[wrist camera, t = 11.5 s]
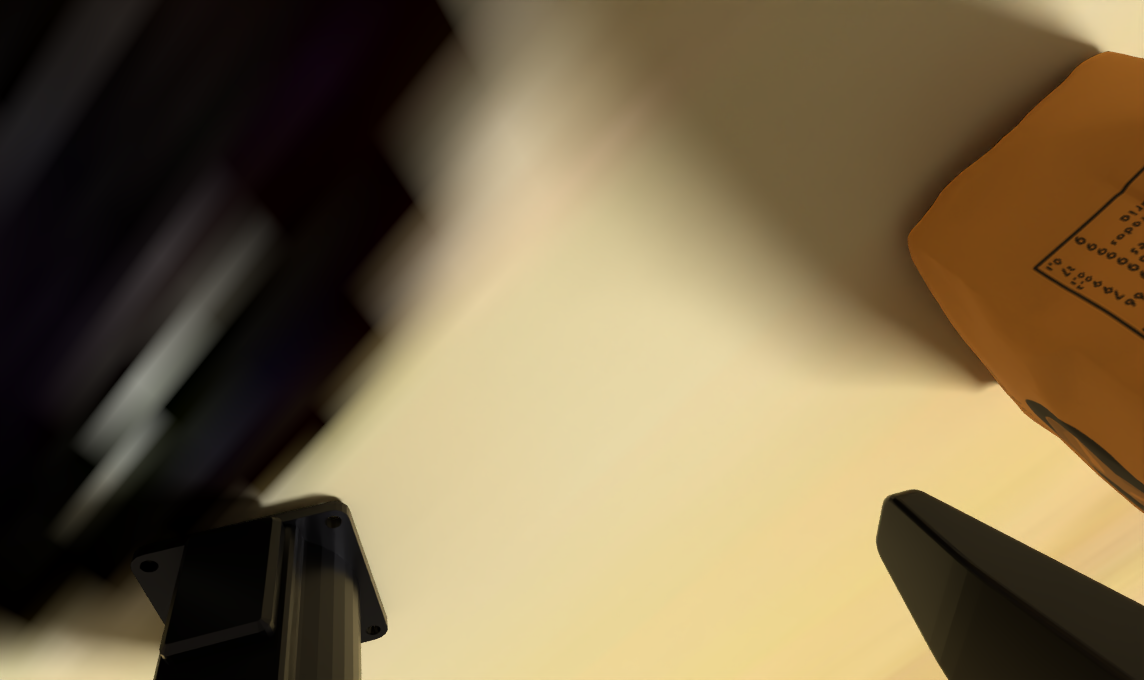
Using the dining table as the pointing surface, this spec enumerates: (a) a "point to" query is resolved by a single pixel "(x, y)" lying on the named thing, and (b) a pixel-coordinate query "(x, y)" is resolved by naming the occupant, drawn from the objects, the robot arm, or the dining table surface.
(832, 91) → the dining table surface
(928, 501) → the robot arm
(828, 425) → the dining table surface
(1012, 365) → the coffee package
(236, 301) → the dining table surface
